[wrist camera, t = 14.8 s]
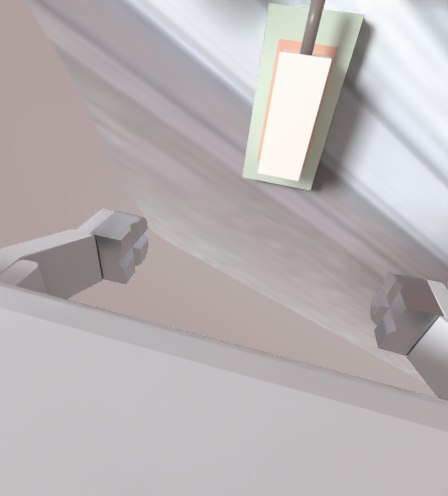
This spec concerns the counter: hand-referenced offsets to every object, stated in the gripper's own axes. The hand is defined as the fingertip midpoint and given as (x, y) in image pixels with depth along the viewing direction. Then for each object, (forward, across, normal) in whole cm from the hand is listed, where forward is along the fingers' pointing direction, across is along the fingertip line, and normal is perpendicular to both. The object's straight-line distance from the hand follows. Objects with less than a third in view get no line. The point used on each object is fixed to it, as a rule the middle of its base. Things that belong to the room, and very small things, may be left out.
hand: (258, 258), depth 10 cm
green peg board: (+27, 0, 0) cm, 27 cm away
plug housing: (+25, 0, -2) cm, 25 cm away
